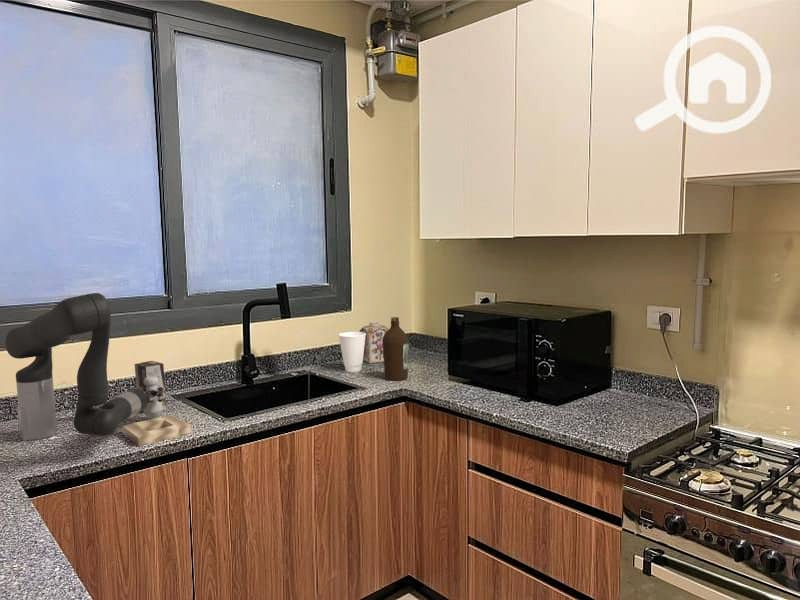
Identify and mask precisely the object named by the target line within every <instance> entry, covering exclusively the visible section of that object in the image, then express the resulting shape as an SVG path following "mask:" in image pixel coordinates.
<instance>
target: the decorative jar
mask: <svg viewBox="0 0 800 600" xmlns="http://www.w3.org/2000/svg"><path fill="white" fill-rule="evenodd" d="M389 329H390V328H389V327H388V326H387V325H381V324H380V322H379V321H372V322H369V325H365V326H362V327H361V329H359V331H358V332H363V333H366V335H365V345H364V354H363V362H366V363H368V364H377V363H384V356H383V344H382V340H383V336H384V335H385V333H386V332H387V331H388V330H389Z"/></svg>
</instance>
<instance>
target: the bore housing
mask: <svg viewBox="0 0 800 600" xmlns="http://www.w3.org/2000/svg"><path fill="white" fill-rule="evenodd" d="M191 426H192V425H191V424H189V423H188V422H186V421H184V420H182V419H180V418H178V417H177V416H175V415H173V414H169V415H165V416H159V417H158V418H152V419H151V418H149V419H145V420H141V421H137V422H132V423H128V424H124V425H121V431H122V432H121V434H122V435H124V437H126V438H128V439H129V440H130V441H132V442H133V443H134V444H135V445H137V446H139V447H141V446H145V445H149V444H154V443H157V442H161V441H165V440H169V439H173V437H174V438H177V436H178V437H181V435H182V436H187V435H189V434H190V433H191V434H192V427H191ZM186 434H187V435H186ZM153 442H154V443H153Z"/></svg>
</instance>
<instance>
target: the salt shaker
mask: <svg viewBox="0 0 800 600" xmlns="http://www.w3.org/2000/svg"><path fill="white" fill-rule="evenodd" d="M158 381H159V380H158V378H157V377H154V376H152V377H147V378H145V379H144V385H146V391H148V390H155V389H157V384H158ZM163 411H164V410H163V406H162V403H161V402H158V401H157V400H154V401H153V402H150V403H149V404H148V405H147V406H146V408H145V409H144V410H143V411H142V412H143V413H144V415H145V417H146V419H154V418H159V417H162V416H161V415H162V413H163Z"/></svg>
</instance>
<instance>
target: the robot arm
mask: <svg viewBox="0 0 800 600" xmlns="http://www.w3.org/2000/svg"><path fill="white" fill-rule="evenodd" d="M111 322H112V315H111V308H110V304H109V302H108V300H107V298H106V297H105V296H104V295H103V294H101V293H99V292H94V293H93V292H92V293H88V294H87V293H86V294H81V295H78V296H73V297H68V298H65V299H63V300H61V301H60V302H59V301H58V303H57V304H56V305H54V307H53V308H52V309H51V310H48V311H47V312H44V313H43V314H41V315H39V316H37V317H36V318H35V319H33V320H31V321H29V322H27V323H26V324H24V325H22V326H19V327H13V328H11V329H10V330H9V331H8V332H7V334H6V337H5V339H4V340H5V341H4V346H5V350H6V352H7V353H8V355H9V356H11V357H12V358H14V359H29V358H34V357H35V358H34V360H33V361H32V362H31V363H30V364H28V365H27V366H25V367H23V368H21V369H19V370H17V371H16V373H15V382H16V394H17V416H18V417H17V419H18V427H19V436H20V438H21V439H22V441H23V442H25V441H35V440H41V439H46V438H49V437H52V436H54V435H56V434H58V423H57V412H56V401H55V399H56V398H55V391H54V390H55V389H54V380H53V379H54V378H53V348H56V347H57V346H60V345H62V344H64V343H66V342H68V341H69V339H71V338H72V336H78V335H82V334H85V333H91V332H92V335H91V340H90V344H89V346H88V347H87V350H86V352H85V355H84V356H83V358H82V361H81V363H79V364H80V365H79V367H78V370H77V375H76V385H77V393H78V394H77V396H78V399H77V403H76V404H77V405H76V409H75V412H74V417H73V426H74V429H75V430H76V431H77V433H79V434H83V435H91V436H92V435H93V436H97V437H98V436H99V437H107V436H111V435H113V434H114V433H115V432H116V430H117V428H118V427H119V425H120V424H121V423H122V422H124V421H126V420H129V419H132V418H133V417H134V416H136V415H138V414H139V413H142V412H143V410H144V409H145V408H146V406H147V405H148V404H149V403H150V402H153V401H154V400H157V401H158V402H162V401H163V388H162V387H159V388H157V389H155V390H148V391H146V389H141V390H139V389H137V388H131V389H128V390H126V391H124V392H123V393H121V394H119V395H117V396H115V397H114V398H112V399H110V400H109V396H110V395H109V382H108V381H109V380H108V372H107V371H108V367H107V366H108V357H109V356H108V355H109V347H110V346H109V345H110V335H111V334H110V332H111V325H112V323H111ZM97 406H100V407H99V408H98V407H97Z"/></svg>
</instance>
